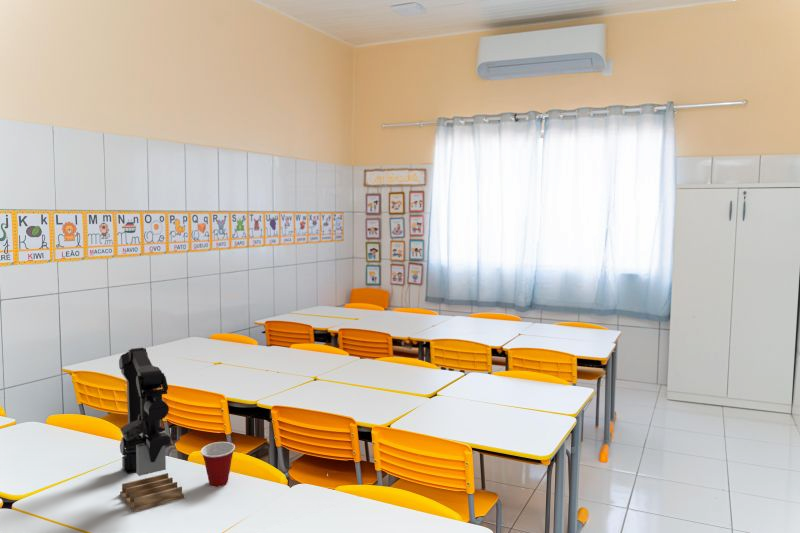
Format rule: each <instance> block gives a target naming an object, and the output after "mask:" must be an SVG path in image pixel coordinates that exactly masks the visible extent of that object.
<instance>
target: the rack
mask: <svg viewBox="0 0 800 533" xmlns="http://www.w3.org/2000/svg"><path fill="white" fill-rule="evenodd" d="M173 481H174V478H173V476H172V477H169V473H168V472H165V473H162V474H158V475H154V476H150V477H145V478H141V479H137V480H133V481H128V482H124V483H121V491H120V492H119V495H120V497H121V498H122V499H123V501H124V502H125V503H126V504H127V505H128V507H129V508H130V509H131V511H132V512H133V513H134V512H139V511H141V510H145V509H149V508H152V507H156V506H160V505H163V504H167V503H171V501H172V502H175V501H178V500H181V499H185V494H184V493H183V487H182V486H178V482H177V481H174V482H173Z"/></svg>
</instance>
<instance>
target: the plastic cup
mask: <svg viewBox="0 0 800 533" xmlns="http://www.w3.org/2000/svg"><path fill="white" fill-rule="evenodd" d="M235 448H236V445H235V444H234V443H232V442H228V441H217V442H212V443H209V444H207V445H205V446H203V447H202V448H201V450H200V454H201V455H202V457H203V461H204V466H205V470H206V475H207V480H208V483H209V485H210V487H213V486H214V488H219V487H218V486H220V487H223V485H224V486H226V485H227V484H228V482H229V477H230V473H231V467H232V466H231V465H232V459H233V455H234V451H235Z"/></svg>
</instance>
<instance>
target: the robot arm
mask: <svg viewBox="0 0 800 533" xmlns="http://www.w3.org/2000/svg"><path fill="white" fill-rule="evenodd" d="M148 354H149V353H148V351H147V348H145V347H136V348H130V349H128V351H127V352H125V353H123V354H122V355H120V357H119V360H118V366H119V370H120V371H121V372H120V373H121V374H122V376H123V377H124V379H125V381H126V396H127V398H126V399H127V424H125V425H124V426H122V427H120V429H119V430H120V432H121V435H122V437H121V439H120V443H119V450H120V453H121V454H122V457H121V461H122V462H121V464H122V467H121V468H122V470H123V471H124V472H126V474H133V473H137V471H136V445H137V444H142V443H144V444H145V445H146V446H147V447H148V449H149V455H150V460H151V462H155V460H156V458H157V456H158V454H159V452H160V450H161V448H162V446H165V447H166V446H169V445H171V444H172V436H170V435H169V434H167V433H166V432H165V431H164V427H163V426H162V420H164V419H165V418H166V417H167V416H168V414H169V411H170V409H169V405H168V403H167V402H165V400H164V399H163V395H168V390H169V385H168V381H167V378H166V377H167V376H166V375H165V373H164V372H162V370H161V369H160V368H159V367H158V366H155V365H153V364H152V362H151V360H150V358H149V356H148Z"/></svg>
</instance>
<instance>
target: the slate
mask: <svg viewBox="0 0 800 533" xmlns="http://www.w3.org/2000/svg"><path fill="white" fill-rule="evenodd" d="M166 460H167V459H166V445H165V446H162V448H161V450H160V452H159V454H158V456H157V458H156V460H155V462H151V460H150V455H149V449H148V447H147V446H146V445H145V444H144V443H142V444H137V445H136V471H137V472H136V475H137V476H138V477H141V476H145V475H149V474H153V473H157V472H161V471H165V470H167V467H166V466H167V465H166V463H167V462H166Z"/></svg>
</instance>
